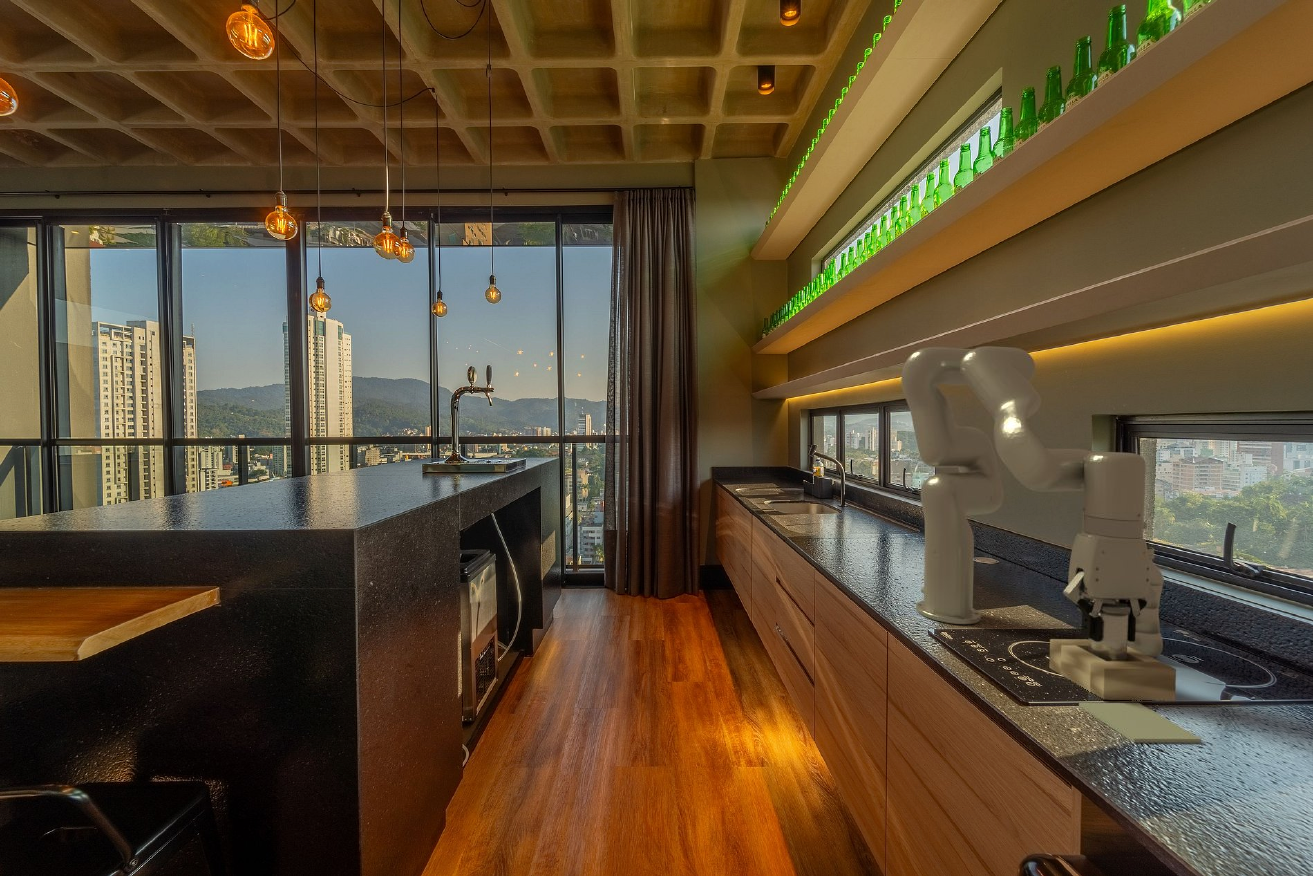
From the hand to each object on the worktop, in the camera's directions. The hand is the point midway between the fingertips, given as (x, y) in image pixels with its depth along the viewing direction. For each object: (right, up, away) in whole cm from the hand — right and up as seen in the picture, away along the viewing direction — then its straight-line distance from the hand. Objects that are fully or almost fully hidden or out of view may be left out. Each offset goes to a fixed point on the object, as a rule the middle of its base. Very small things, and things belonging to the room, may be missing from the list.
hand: (1107, 637), depth 86 cm
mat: (-6, -8, -12) cm, 15 cm away
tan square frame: (0, -8, 0) cm, 8 cm away
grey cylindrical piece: (0, -6, 0) cm, 6 cm away
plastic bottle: (+15, -8, +11) cm, 20 cm away
